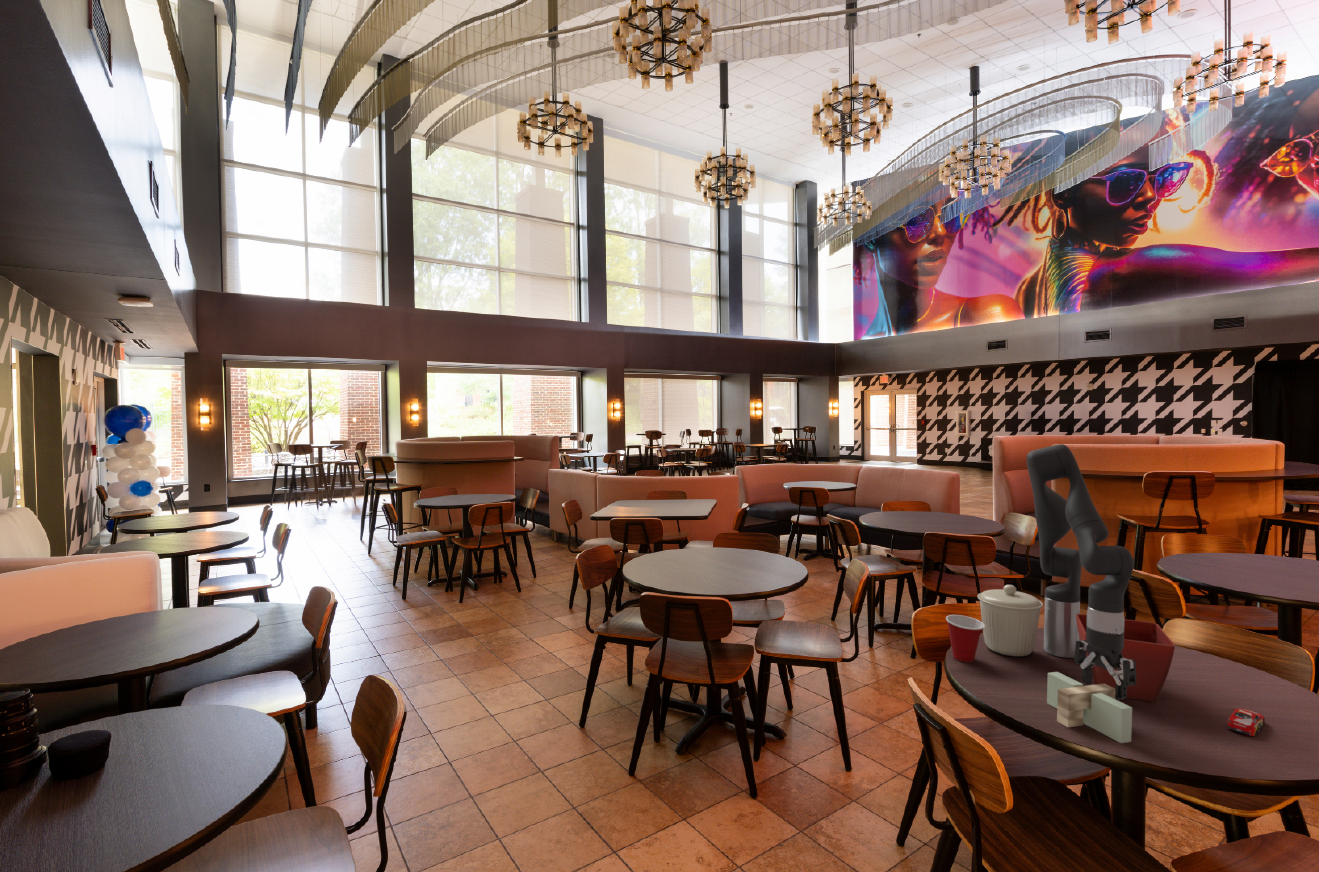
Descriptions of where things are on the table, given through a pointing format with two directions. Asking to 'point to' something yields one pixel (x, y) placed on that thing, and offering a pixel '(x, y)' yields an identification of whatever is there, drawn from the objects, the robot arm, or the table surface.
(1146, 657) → the plant pot
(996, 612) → the canister
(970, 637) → the plastic cup
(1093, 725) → the notched board
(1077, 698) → the slotted plate
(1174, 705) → the table surface
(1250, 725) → the race car
